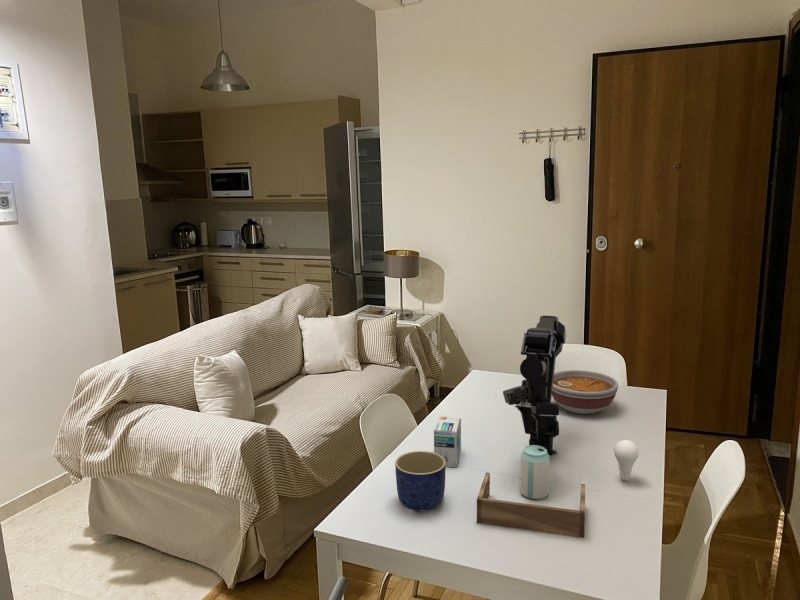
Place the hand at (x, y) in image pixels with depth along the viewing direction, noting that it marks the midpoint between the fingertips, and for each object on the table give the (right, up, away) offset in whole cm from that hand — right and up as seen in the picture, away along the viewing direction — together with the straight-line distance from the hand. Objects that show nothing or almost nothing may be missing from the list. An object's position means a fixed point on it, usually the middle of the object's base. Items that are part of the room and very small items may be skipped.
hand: (533, 436), depth 161 cm
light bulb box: (-21, -10, +15) cm, 28 cm away
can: (-1, -13, -5) cm, 14 cm away
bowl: (+27, -1, +49) cm, 56 cm away
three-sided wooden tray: (-4, -15, -15) cm, 22 cm away
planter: (-30, -15, -8) cm, 34 cm away
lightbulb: (+24, -12, +1) cm, 27 cm away
